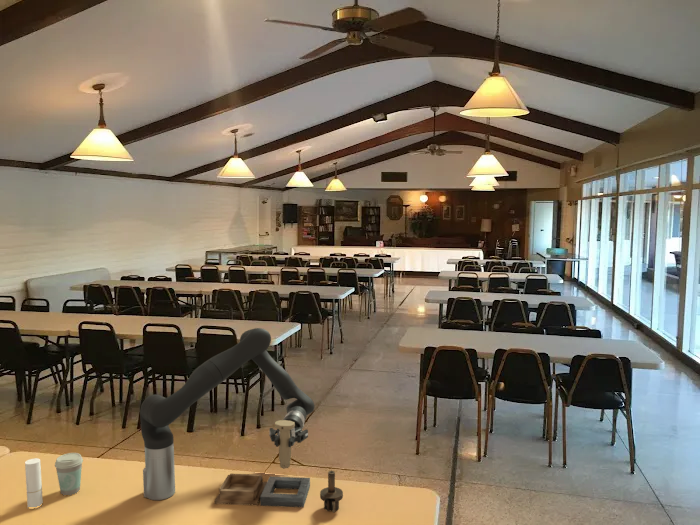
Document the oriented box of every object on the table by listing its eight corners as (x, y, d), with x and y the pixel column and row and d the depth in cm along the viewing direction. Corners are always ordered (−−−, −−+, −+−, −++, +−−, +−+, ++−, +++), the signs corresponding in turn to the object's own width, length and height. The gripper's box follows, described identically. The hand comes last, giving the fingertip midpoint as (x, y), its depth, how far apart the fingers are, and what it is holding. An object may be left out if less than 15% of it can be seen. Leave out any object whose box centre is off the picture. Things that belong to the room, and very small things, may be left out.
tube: (45, 504, 189) (43, 459, 187) (34, 510, 185) (32, 465, 183) (35, 501, 190) (33, 457, 189) (24, 508, 186) (21, 463, 185)
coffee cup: (50, 495, 195) (48, 460, 193) (71, 483, 203) (69, 450, 201) (69, 500, 191) (67, 464, 190) (90, 488, 199) (88, 454, 198)
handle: (291, 471, 190) (291, 426, 188) (273, 468, 191) (272, 424, 190) (296, 465, 194) (296, 421, 193) (278, 462, 196) (278, 419, 195)
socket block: (260, 505, 188) (260, 496, 187) (269, 484, 202) (269, 476, 201) (303, 507, 187) (303, 498, 186) (310, 486, 200) (310, 477, 200)
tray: (214, 503, 189) (214, 491, 188) (227, 483, 203) (227, 472, 202) (257, 505, 188) (257, 493, 187) (267, 484, 202) (266, 473, 201)
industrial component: (340, 515, 182) (340, 478, 180) (317, 513, 183) (317, 476, 182) (345, 500, 191) (345, 465, 190) (324, 498, 192) (323, 463, 191)
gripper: (272, 413, 206) (261, 432, 189) (312, 414, 205) (304, 433, 188) (273, 433, 207) (261, 454, 190) (312, 435, 206) (304, 456, 189)
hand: (283, 444), depth 189 cm, fingers closed on handle, 3 cm apart
